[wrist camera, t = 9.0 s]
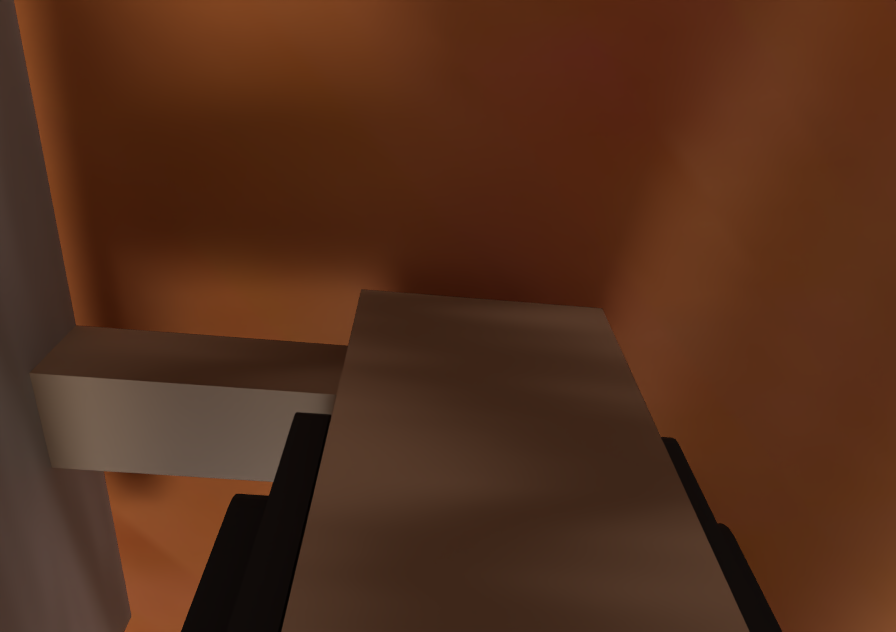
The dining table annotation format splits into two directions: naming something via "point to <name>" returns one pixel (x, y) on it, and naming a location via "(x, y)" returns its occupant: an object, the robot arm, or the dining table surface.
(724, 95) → the dining table surface
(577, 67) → the dining table surface
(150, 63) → the dining table surface
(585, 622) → the scraper
